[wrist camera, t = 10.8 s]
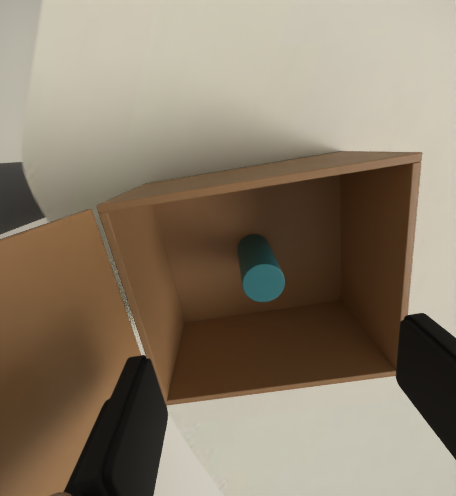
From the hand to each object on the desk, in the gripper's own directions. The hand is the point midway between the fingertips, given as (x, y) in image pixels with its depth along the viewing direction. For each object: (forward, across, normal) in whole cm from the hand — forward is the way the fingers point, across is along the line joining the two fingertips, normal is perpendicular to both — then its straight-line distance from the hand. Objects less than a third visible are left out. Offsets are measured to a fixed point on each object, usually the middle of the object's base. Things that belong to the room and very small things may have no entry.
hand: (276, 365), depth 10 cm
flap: (0, +8, 0) cm, 8 cm away
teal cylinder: (+12, -1, 0) cm, 13 cm away
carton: (+13, -1, 0) cm, 13 cm away
